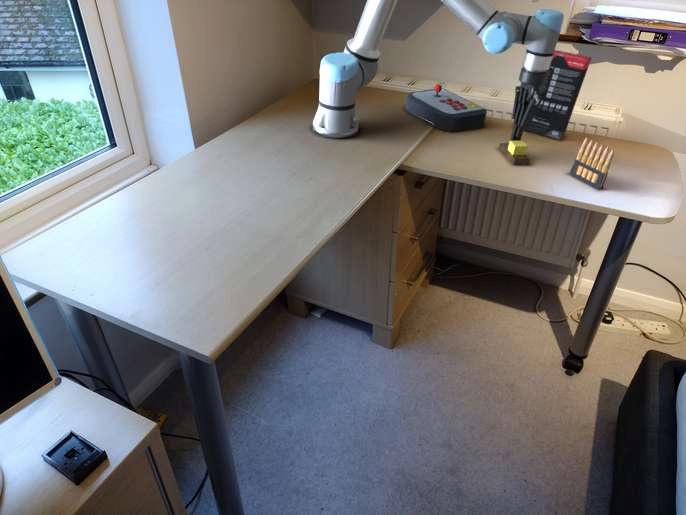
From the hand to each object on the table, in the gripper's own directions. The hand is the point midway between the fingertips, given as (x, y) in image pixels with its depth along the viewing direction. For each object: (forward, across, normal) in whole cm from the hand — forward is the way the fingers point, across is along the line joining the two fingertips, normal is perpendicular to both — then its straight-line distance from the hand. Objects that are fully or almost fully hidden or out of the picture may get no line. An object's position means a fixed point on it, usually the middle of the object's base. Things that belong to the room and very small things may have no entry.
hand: (513, 144), depth 161 cm
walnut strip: (+3, -2, 0) cm, 4 cm away
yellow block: (+1, -3, 0) cm, 3 cm away
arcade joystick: (+4, +32, +13) cm, 35 cm away
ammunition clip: (+4, -19, -15) cm, 24 cm away
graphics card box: (+4, +18, -18) cm, 26 cm away
